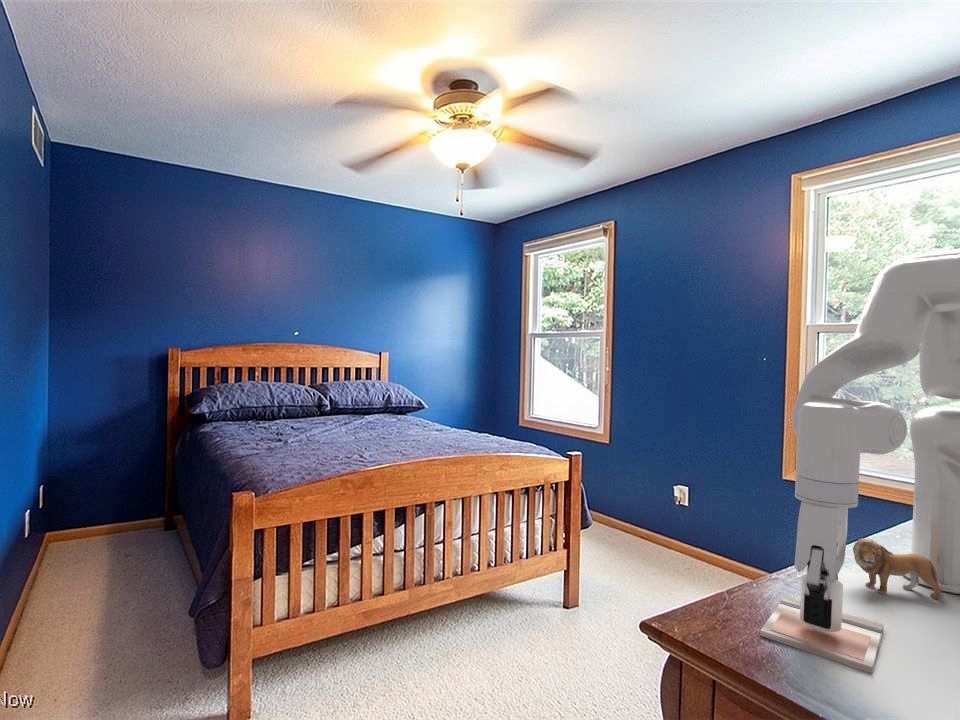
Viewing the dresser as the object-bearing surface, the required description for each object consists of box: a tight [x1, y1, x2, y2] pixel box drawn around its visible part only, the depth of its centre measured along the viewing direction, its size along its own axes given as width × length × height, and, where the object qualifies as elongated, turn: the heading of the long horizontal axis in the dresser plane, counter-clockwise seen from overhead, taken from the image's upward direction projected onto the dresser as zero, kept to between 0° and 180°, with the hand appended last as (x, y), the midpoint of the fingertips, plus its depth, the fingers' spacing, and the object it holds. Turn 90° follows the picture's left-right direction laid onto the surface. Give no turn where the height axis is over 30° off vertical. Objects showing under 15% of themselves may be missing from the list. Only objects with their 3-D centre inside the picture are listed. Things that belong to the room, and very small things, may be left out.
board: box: [759, 595, 885, 674], centre depth 79 cm, size 15×13×1 cm
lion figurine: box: [852, 537, 943, 600], centre depth 93 cm, size 15×5×9 cm, turn 88°
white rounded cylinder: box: [800, 573, 844, 632], centre depth 77 cm, size 5×5×6 cm
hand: (820, 616), depth 77 cm, fingers closed on white rounded cylinder, 4 cm apart
